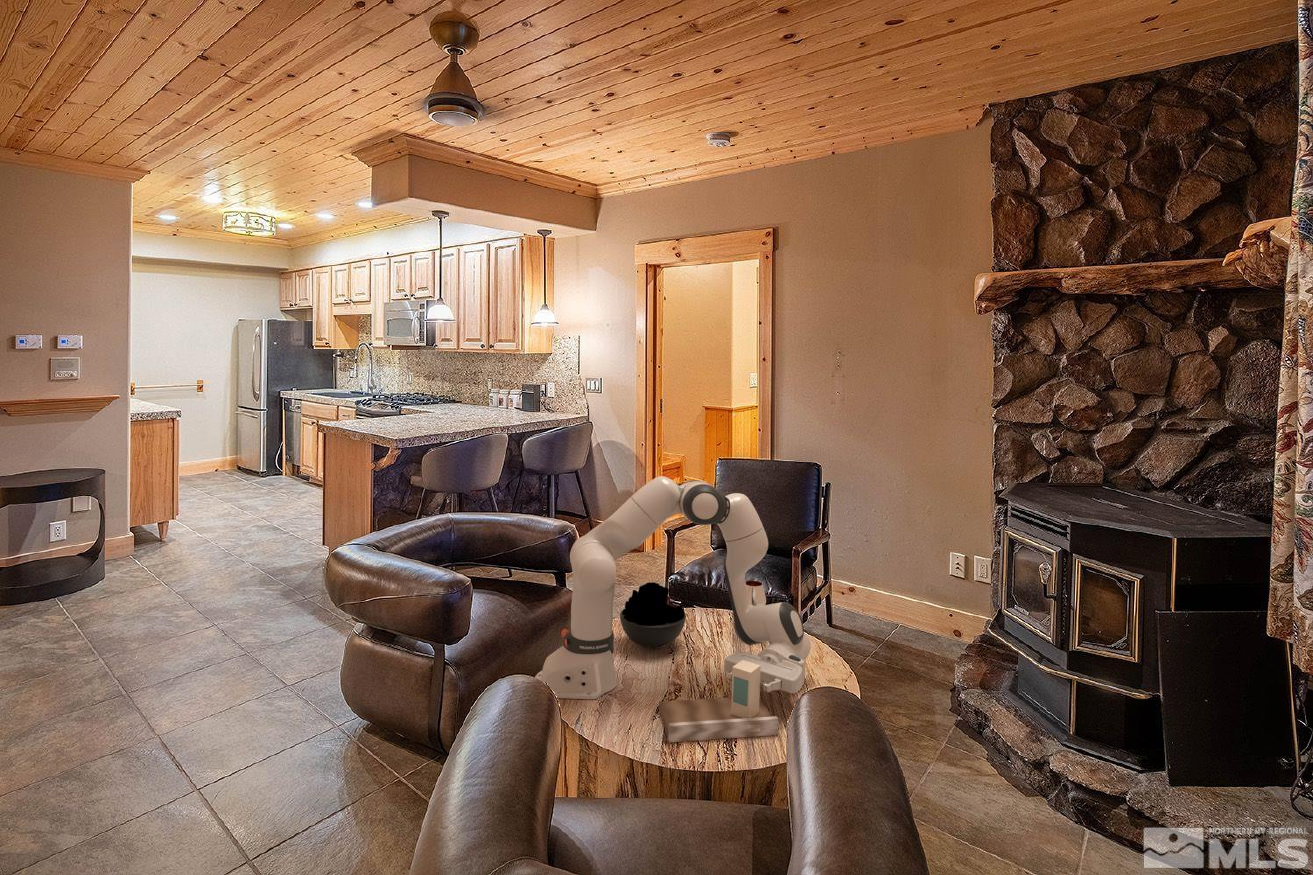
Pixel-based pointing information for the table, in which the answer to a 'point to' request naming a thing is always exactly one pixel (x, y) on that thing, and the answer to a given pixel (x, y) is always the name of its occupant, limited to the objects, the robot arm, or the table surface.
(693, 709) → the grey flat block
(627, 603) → the coal bowl
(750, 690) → the carton
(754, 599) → the wineglass
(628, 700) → the table surface
